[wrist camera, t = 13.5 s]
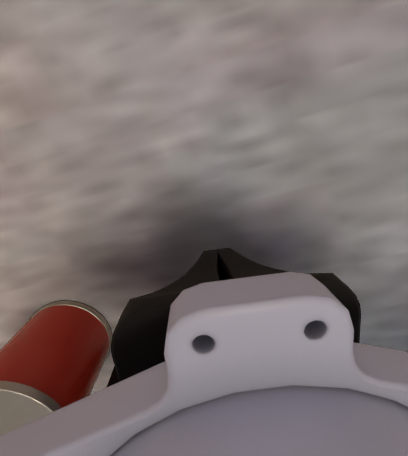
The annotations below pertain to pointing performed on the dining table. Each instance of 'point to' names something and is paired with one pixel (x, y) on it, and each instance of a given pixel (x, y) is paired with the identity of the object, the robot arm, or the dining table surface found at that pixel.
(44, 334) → the can
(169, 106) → the dining table surface
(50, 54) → the dining table surface
